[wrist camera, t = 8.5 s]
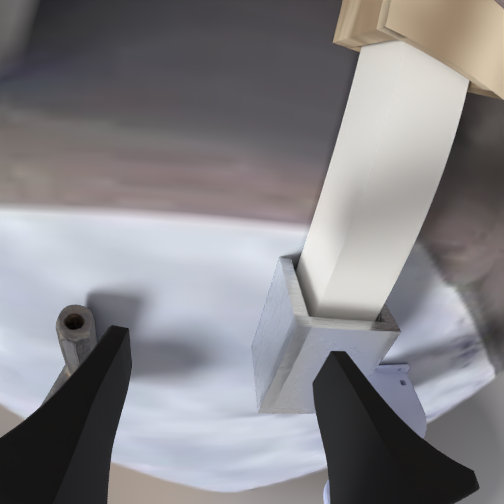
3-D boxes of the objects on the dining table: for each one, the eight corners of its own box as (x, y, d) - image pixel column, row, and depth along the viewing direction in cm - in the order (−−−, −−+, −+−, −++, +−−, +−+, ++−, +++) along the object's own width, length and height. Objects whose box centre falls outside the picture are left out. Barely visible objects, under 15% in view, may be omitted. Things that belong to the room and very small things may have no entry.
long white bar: (422, 50, 13) (475, 49, 9) (345, 282, 22) (369, 330, 18) (367, 23, 13) (411, 9, 9) (294, 275, 21) (309, 326, 17)
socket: (446, 23, 12) (515, 20, 7) (433, 86, 15) (504, 100, 9) (348, -26, 11) (401, -62, 6) (332, 42, 14) (385, 26, 8)
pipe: (117, 307, 22) (88, 391, 15) (118, 392, 28) (105, 457, 21) (50, 288, 21) (7, 361, 14) (67, 377, 27) (47, 438, 20)
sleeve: (364, 270, 22) (400, 331, 16) (324, 351, 26) (342, 412, 20) (279, 257, 21) (297, 325, 15) (251, 346, 25) (257, 412, 19)
